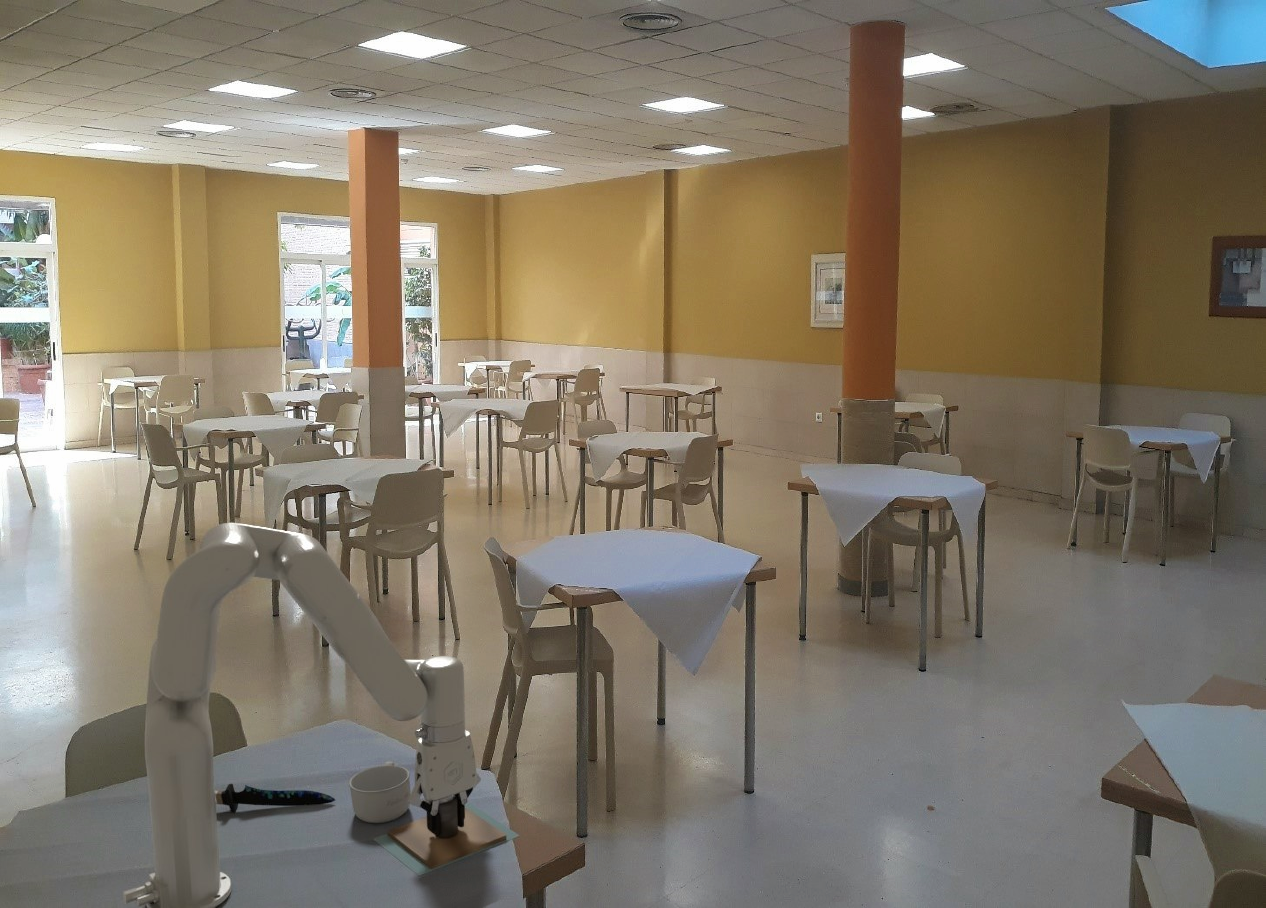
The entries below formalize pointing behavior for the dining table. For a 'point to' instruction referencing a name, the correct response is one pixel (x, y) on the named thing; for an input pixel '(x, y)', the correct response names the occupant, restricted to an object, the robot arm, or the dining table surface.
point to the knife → (269, 797)
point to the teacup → (380, 793)
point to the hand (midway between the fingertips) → (446, 827)
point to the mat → (423, 869)
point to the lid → (446, 836)
